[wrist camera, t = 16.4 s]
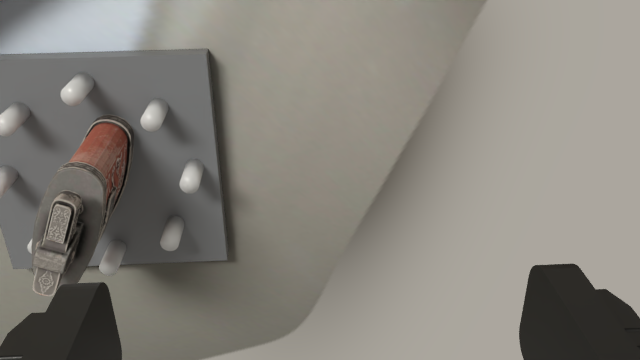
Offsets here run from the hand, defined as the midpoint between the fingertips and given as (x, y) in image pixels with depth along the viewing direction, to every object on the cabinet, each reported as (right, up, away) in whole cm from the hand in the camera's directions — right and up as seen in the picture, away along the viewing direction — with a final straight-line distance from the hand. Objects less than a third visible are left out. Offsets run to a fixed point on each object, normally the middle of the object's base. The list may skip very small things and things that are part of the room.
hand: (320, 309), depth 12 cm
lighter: (-14, +3, +28) cm, 32 cm away
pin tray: (-14, +4, +29) cm, 33 cm away
